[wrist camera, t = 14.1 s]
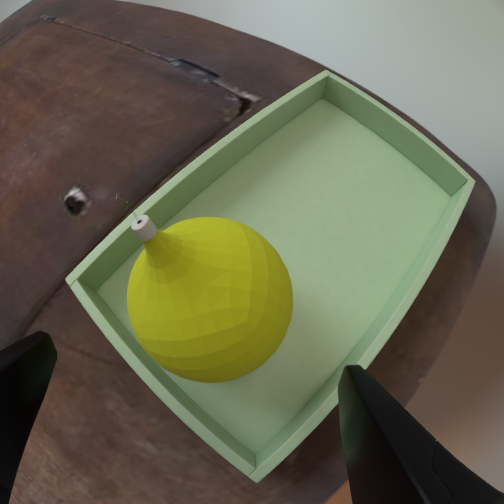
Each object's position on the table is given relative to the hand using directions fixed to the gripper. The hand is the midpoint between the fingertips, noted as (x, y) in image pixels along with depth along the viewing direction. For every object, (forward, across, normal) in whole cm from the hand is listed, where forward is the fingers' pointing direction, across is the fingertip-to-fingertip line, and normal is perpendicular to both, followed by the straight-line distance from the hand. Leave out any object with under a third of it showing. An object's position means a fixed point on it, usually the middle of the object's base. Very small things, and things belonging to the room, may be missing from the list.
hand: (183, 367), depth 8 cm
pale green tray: (+12, -5, +1) cm, 12 cm away
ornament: (+8, 0, +4) cm, 9 cm away
